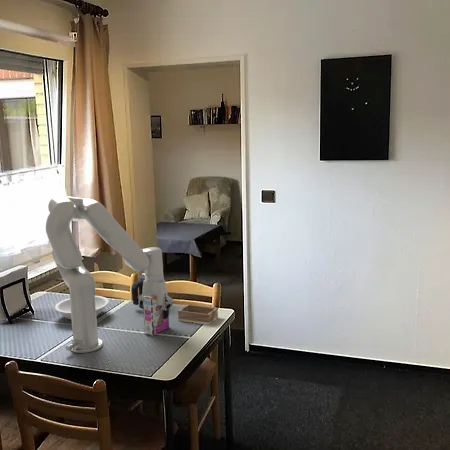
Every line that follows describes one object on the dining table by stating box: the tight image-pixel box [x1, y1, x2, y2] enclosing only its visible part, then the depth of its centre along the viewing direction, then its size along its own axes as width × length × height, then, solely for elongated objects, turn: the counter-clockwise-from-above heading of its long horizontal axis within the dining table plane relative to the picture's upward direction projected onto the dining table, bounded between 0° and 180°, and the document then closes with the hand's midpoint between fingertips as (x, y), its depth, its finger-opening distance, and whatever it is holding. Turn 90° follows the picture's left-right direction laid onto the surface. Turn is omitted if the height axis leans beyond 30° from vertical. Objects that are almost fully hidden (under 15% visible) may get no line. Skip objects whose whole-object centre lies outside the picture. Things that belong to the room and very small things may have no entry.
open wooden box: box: [177, 304, 219, 326], centre depth 236 cm, size 9×15×4 cm, turn 65°
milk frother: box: [131, 273, 145, 309], centre depth 252 cm, size 14×16×15 cm
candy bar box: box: [142, 290, 170, 337], centre depth 223 cm, size 11×5×16 cm, turn 149°
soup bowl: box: [54, 295, 110, 320], centre depth 243 cm, size 24×24×7 cm
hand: (156, 316), depth 224 cm, fingers open, 8 cm apart
